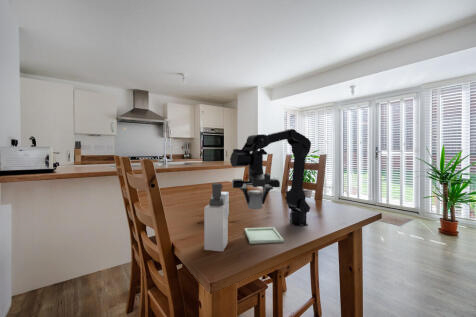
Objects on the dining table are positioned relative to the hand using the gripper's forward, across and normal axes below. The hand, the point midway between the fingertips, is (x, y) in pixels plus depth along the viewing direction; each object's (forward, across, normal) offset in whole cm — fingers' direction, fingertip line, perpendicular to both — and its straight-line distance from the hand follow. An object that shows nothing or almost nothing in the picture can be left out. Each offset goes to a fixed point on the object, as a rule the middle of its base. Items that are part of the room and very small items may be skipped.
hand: (255, 204), depth 87 cm
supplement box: (+12, -14, +21) cm, 28 cm away
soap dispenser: (+12, -16, -10) cm, 22 cm away
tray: (+12, +2, -4) cm, 13 cm away
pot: (+2, 0, +1) cm, 2 cm away
